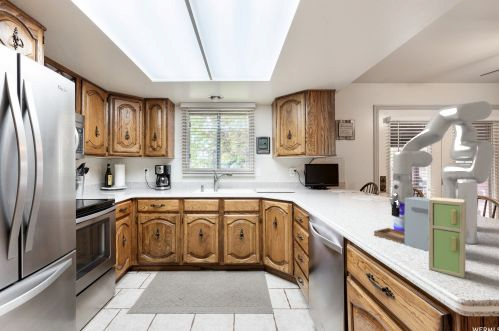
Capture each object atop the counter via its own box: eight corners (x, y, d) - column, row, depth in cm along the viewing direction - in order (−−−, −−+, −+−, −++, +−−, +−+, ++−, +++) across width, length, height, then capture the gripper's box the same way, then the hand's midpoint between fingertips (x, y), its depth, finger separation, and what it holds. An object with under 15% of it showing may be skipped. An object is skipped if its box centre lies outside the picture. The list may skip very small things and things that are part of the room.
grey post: (455, 237, 99) (456, 178, 99) (477, 241, 94) (477, 179, 94) (454, 241, 94) (454, 179, 94) (476, 245, 90) (477, 180, 90)
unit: (415, 241, 95) (416, 196, 95) (452, 250, 84) (453, 200, 84) (403, 244, 90) (403, 198, 90) (440, 255, 80) (441, 203, 80)
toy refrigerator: (427, 270, 69) (427, 199, 69) (431, 262, 74) (432, 196, 74) (463, 279, 63) (464, 202, 63) (465, 271, 69) (466, 199, 68)
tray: (387, 232, 107) (387, 227, 107) (414, 239, 97) (414, 234, 97) (374, 235, 102) (374, 231, 102) (401, 243, 92) (401, 238, 92)
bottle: (390, 229, 111) (390, 193, 111) (400, 228, 112) (400, 192, 112) (404, 234, 104) (404, 195, 104) (414, 233, 105) (414, 194, 105)
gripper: (400, 178, 100) (399, 218, 100) (421, 178, 109) (420, 215, 109) (383, 177, 107) (382, 215, 107) (404, 177, 115) (403, 212, 115)
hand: (401, 215), depth 108 cm, fingers open, 9 cm apart
